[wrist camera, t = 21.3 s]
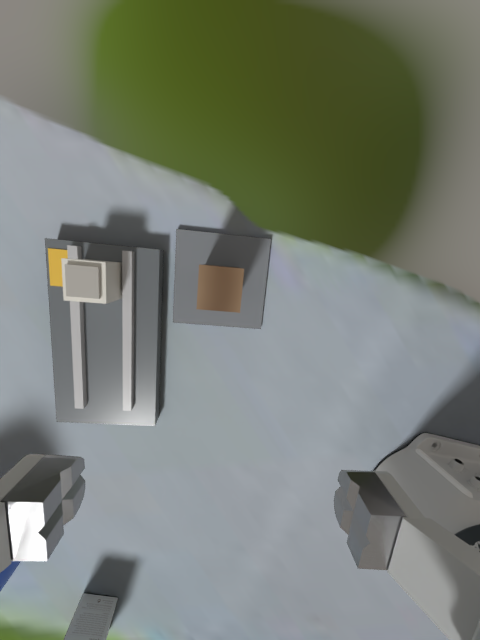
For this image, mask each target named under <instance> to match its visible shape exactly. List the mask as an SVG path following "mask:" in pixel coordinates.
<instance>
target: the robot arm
mask: <svg viewBox="0 0 480 640" xmlns="http://www.w3.org/2000/svg"><path fill="white" fill-rule="evenodd" d="M84 469H85V464H84V459H83V458H82V457H75V456H62V455H49V454H48V455H43V454H29V455H26V456H25V457H23V458H22V459H21V460H20V461H19V462H18V463H17V464H16V465H15V466H14V467H13V468H12V469H11V470H9V471H8V472H7V473H6V474H5V475H4V476H3V477H2V478H1V479H0V573H1V572H2V571H3V570H4V569H5V568H7V567H8V566H9V565H10V564H11V561H47V560H48V559H49V557H50V555H51V554H52V552H53V551H54V549H55V547H56V546H57V544H58V543H59V541H60V539H61V538H62V536H63V534H64V529H63V525H65V524H66V523H67V522H69V521H70V520H71V519H73V518H74V516H75V515H76V513H77V511H78V510H79V508H80V505H81V503H82V500H83V497H84V493H85V480H84V479H83V477H82V476H81V475H80V474H81V473H82V471H83V470H84ZM338 482H339V484H340V487H339V488H338V489H337V490H336V491H335V496H334V510H335V514H336V518H337V521H338V523H339V526H340V528H342V529H343V530H344V531H345V532H346V533H347V534H348V539H347V544H348V547H349V549H350V551H351V554H352V556H353V558H354V561H355V563H356V565H357V567H358V568H359V569H376V570H388V573H389V574H390V575H391V576H392V578H393V579H394V580H395V581H396V582H397V583H398V584H399V585H400V586H401V587H402V589H403V590H404V591H405V592H406V593H407V594H408V595H409V596H410V597H411V598H412V599H413V601H414V602H415V603H416V604H417V605H418V606H419V607H420V608H421V609H422V610H423V612H424V613H425V614H426V615H427V616H428V617H429V618H430V619H431V620H432V621H433V622H434V624H435V625H436V626H437V627H438V628H439V629H440V630H441V631H442V632H443V633H444V635H445V636H446V637H447V638H448V639H449V640H480V446H479V445H475V444H471V443H467V442H463V441H458V440H454V439H450V438H446V437H442V436H438V435H434V434H429V433H423V434H421V435H419V436H418V437H417V438H415V439H414V440H413V441H412V442H411V443H410V445H409V446H407V447H406V448H404V449H402V450H400V451H398V452H396V453H395V454H393V455H391V456H390V457H388V458H387V459H386V460H385V461H383V462H382V463H381V464H380V465H379V466H378V468H377V469H376V470H375V471H358V470H341V471H340V473H339V476H338Z"/></svg>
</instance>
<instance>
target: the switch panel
mask: <svg viewBox="0 0 480 640" xmlns="http://www.w3.org/2000/svg"><path fill="white" fill-rule="evenodd" d="M45 248H46V264H47V279H48V295H49V310H50V326H51V342H52V357H53V373H54V388H55V404H56V420H57V422H71V423H95V424H119V425H143V426H155V425H156V422H157V420H158V418H159V392H160V358H161V324H162V290H163V256H164V250H159V249H149V248H139V247H129V246H118V245H108V244H98V243H88V242H78V241H67V240H57V239H47V238H45ZM61 258H69V259H89V260H100V261H111V262H122V299H119V300H116V301H113V302H110V303H107V304H102V303H90V302H77V301H64V299H63V280H62V261H61Z"/></svg>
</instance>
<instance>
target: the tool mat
mask: <svg viewBox="0 0 480 640" xmlns="http://www.w3.org/2000/svg"><path fill="white" fill-rule="evenodd" d="M270 244H271V239H267V238H258V237H248V236H239V235H229V234H220V233H210V232H201V231H191V230H181V229H176V254H175V280H174V306H173V322H174V323H187V324H200V325H214V326H227V327H240V328H254V329H261V323H262V314H263V306H264V297H265V288H266V279H267V270H268V262H269V253H270ZM203 264H206V265H216V266H227V267H238V268H243V269H244V276H243V287H242V297H241V308H240V313H236V312H224V311H211V310H199V309H196V308H197V291H198V274H199V265H203Z"/></svg>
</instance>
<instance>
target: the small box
mask: <svg viewBox="0 0 480 640" xmlns="http://www.w3.org/2000/svg"><path fill="white" fill-rule="evenodd" d="M117 600H118V598H117V597H109V596H101V595H94V594H86V593H84V594H83V595H82V597H81V600H80V602H79V604H78V607H77V609H76V611H75V614H74V616H73V619H72V621H71V623H70V626H69V628H68V631H67V633H66V635H65V638H64V640H106V638H107V635H108V631H109V628H110V624H111V621H112V617H113V614H114V610H115V607H116V603H117Z"/></svg>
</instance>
